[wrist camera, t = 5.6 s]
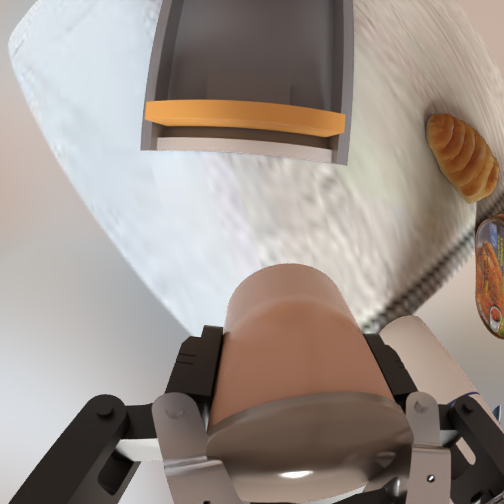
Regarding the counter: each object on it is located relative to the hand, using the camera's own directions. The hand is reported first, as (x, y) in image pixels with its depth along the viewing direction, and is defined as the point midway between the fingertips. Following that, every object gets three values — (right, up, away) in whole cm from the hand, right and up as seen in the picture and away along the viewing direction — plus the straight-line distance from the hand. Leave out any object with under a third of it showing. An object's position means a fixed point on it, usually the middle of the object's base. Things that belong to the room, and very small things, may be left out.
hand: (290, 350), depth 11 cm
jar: (0, +1, +2) cm, 2 cm away
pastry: (+19, +13, +10) cm, 25 cm away
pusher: (-2, +15, +9) cm, 18 cm away
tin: (+26, +2, +14) cm, 30 cm away
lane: (-1, +22, +7) cm, 23 cm away
